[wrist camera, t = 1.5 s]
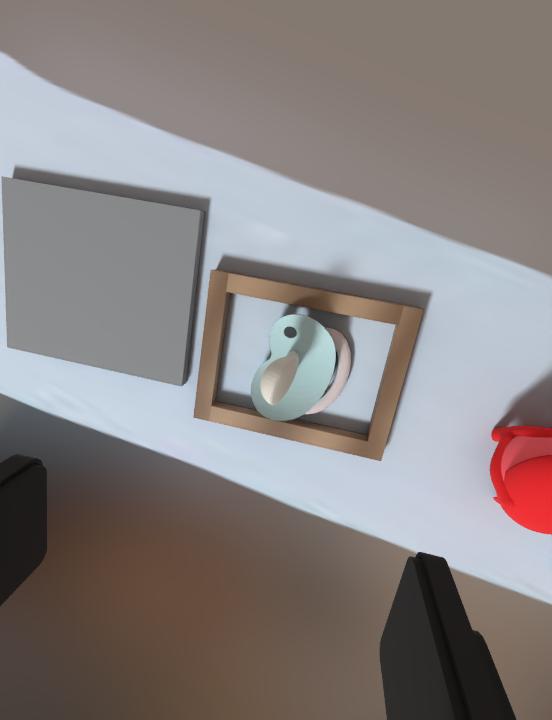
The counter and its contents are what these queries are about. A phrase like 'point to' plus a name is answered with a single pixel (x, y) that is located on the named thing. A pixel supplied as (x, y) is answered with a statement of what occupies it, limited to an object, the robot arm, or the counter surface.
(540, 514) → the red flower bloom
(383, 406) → the pocket frame
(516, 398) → the counter surface
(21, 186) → the slate mat
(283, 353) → the pacifier
